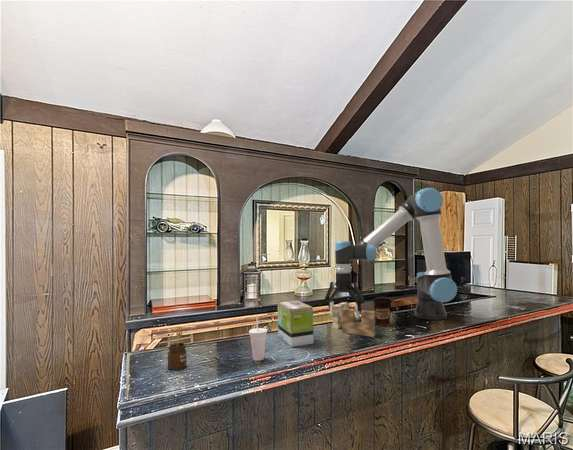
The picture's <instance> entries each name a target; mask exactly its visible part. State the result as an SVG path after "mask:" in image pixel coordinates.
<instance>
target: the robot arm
mask: <svg viewBox="0 0 573 450" xmlns="http://www.w3.org/2000/svg"><path fill="white" fill-rule="evenodd" d="M443 203H444V197H443V195H442V193H441V192H440V191H439V190H438V189H435V188H433V187H426V188H422V189H419V190H418V191H416V192H414V193H412V194H411V195H410V196H409V197H408V198H407V199H406V200H405V201H404V202H403V203H402V204H400V205H399V207H398V210H396V212H394V213H393V214H392V215H391V216H390V217H388V218H387V219H386V220H385V221H384V222H382V223H381V224H380V225H378V226H377V227H376V228H375V229H373V231H371V232H370V233H369V234H368V235H366V236H365V237H364V238H363V239H362V240H361V241H359V242H358V243H357V244H351V241H349V240H340V241H339V240H338V241H337V240H336V242H335V243H334V247H335V248H334V253H335V254H334V258H335V260H334V261H335V272H336V273H335V281H330V283H329V288H328V290H327V292H326V295H325V297H324V301H327V303H328V309H329V315H330V316H333V313H332V306H335V304H334V303H335V302H334V301H333V300H334V299H335V298H336V296H337V295H338V294H339V292H341V293H342V292H344V293H348V294H349V295H350V296H351V297H352V299H353V300H354V302H355V303H356V304H355V320H356V319H359V318H360V319H361V313H360V312H361V311H362V304H365V303H366V300H365V298H364V296H363V294H362V291H361V290H360V288H359V283H358V282H355V283H353V282H352V273H351V272H352V261H371V260H372V261H374V260H376V258H377V257H376V256H377V247H378V246H379V245H381V244H382V243H383V242H384V241H386V240H387V239H388V238H389V237H391V236H392V235H393V234H394V233H396V232H397V231H398V230H399V229H401V228H402V227H403V226H404V225H405V224H407V222H410V221H413V220H414V219H416V220H417V221H419V226H420V233H421V239H422V245H423V246H422V247H423V253H424V258H425V260H424V261H425V266H426V271H420V272H417V273H416V279H415V280H416V290H417V291H416V293H417V302H416V305H415V308H414V317H415V318H418V319H423V320H430V321H440V320H446V319H447V312H446V308H445V305H444V303H449V302H450V301H452V300H454V299H455V297H456V295H457V292H458V286H457V284H456V282H455V281H454V280H453V277H452V274H451V273H452V272H451V270H449V269H448V268H447V264H446V256H445V251H444V244H443V237H442V232H441V226H440V225H441V224H440V217H441V216H442V215H443V214H442V209H441V208H442V206H443ZM335 287H336V288H335ZM334 288H335V290H334ZM353 289H354V290H353ZM333 290H334V292H333ZM354 291H355V292H354ZM332 292H333V293H332Z"/></svg>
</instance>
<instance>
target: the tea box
mask: <svg viewBox="0 0 573 450" xmlns="http://www.w3.org/2000/svg"><path fill="white" fill-rule="evenodd" d="M277 333H278V337H279V338H280V339H281V340H283V341H284V342H285V343H286V344H287V345H289V346H290V347H291V348H293V347H301V346H307V345H312V344H314V342H315V341H314V340H315V339H314V336H315V335H314V309H313V306H311V305H310V304H306V303H304V302H303V301H299V300H292V301H290V300H289V301H283V302H282V301H281V302H277Z"/></svg>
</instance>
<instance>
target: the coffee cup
mask: <svg viewBox="0 0 573 450" xmlns="http://www.w3.org/2000/svg"><path fill="white" fill-rule="evenodd" d="M391 306H392V299H391V298H390V297H389V296H376V297H374V299H373V307H374V311H375V326H378V327H390V326H391V322H390V320H391V315H392V314H391V312H392V311H391V310H392V309H391Z"/></svg>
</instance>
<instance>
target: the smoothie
mask: <svg viewBox="0 0 573 450" xmlns="http://www.w3.org/2000/svg"><path fill="white" fill-rule="evenodd" d="M255 323H256V328H251V329H249V330H248V335H249V337H250V345H251V352H252V359H253V361H256V362H257V361H258V362H259V361H263V360H264V359H265V353H266V351H265V350H266V341H267V334H268V329H266V328H263V327H259V316H258V317H257V316H256V321H255Z"/></svg>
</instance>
